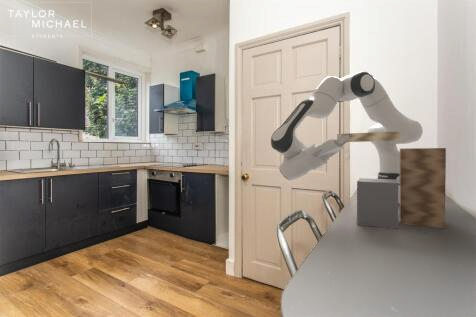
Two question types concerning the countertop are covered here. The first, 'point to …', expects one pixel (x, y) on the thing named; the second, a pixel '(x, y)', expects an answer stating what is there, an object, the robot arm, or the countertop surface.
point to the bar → (373, 136)
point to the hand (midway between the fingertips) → (350, 136)
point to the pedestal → (422, 186)
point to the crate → (377, 202)
